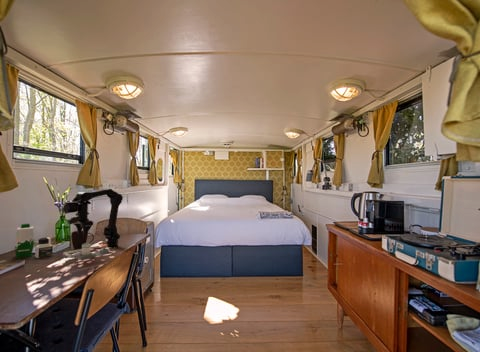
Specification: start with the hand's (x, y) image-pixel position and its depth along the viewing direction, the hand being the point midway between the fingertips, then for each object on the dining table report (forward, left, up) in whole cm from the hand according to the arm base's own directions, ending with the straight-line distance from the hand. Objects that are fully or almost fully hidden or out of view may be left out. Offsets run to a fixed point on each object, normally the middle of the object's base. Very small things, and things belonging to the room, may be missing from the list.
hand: (82, 235), depth 155 cm
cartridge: (+1, +9, -12) cm, 15 cm away
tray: (+3, -2, -13) cm, 14 cm away
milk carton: (+23, -26, -13) cm, 37 cm away
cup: (-7, -17, -13) cm, 23 cm away
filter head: (-4, +9, -13) cm, 16 cm away
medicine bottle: (+16, -14, -13) cm, 25 cm away
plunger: (-10, +9, -10) cm, 17 cm away
